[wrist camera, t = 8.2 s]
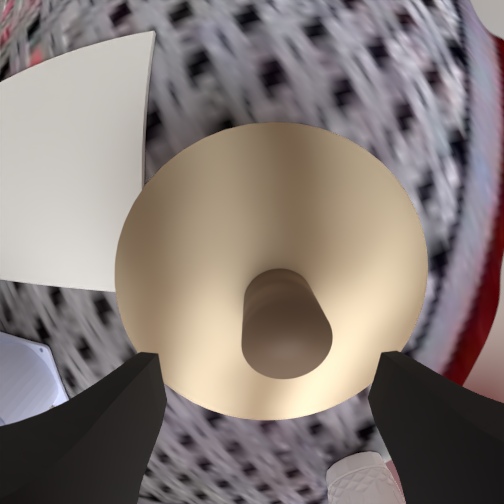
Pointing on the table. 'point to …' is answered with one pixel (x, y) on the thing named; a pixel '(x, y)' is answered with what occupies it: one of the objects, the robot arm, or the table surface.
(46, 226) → the white square mat
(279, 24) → the table surface
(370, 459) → the white cup
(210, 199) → the oak lid
